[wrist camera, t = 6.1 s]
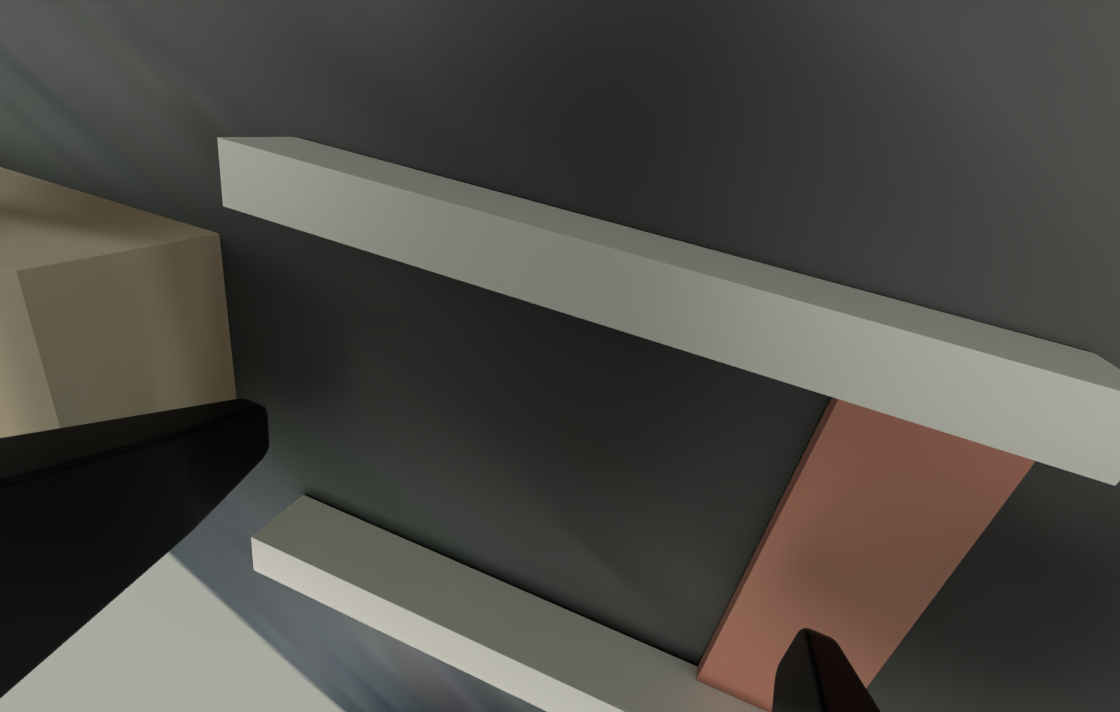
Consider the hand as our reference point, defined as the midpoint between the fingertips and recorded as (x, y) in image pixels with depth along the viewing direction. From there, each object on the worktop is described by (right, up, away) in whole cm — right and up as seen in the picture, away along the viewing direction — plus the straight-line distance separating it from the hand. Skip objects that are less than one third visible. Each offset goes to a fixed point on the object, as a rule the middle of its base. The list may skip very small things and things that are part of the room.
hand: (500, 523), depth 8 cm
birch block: (-9, +4, +4) cm, 11 cm away
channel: (+1, +1, +2) cm, 2 cm away
